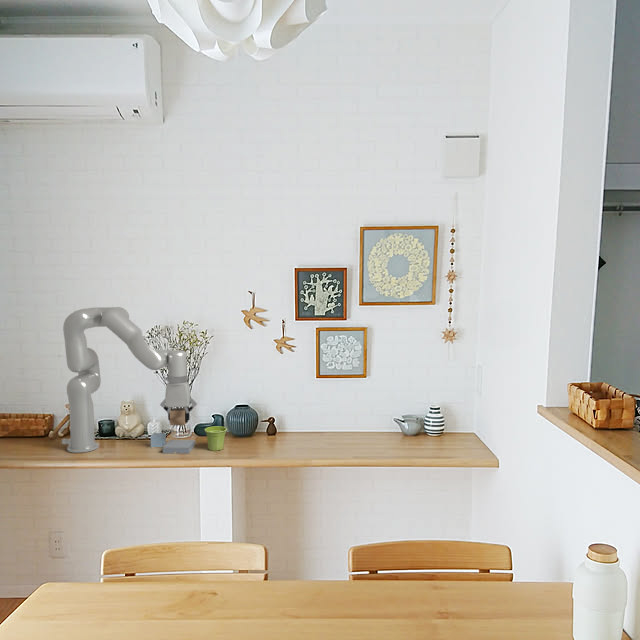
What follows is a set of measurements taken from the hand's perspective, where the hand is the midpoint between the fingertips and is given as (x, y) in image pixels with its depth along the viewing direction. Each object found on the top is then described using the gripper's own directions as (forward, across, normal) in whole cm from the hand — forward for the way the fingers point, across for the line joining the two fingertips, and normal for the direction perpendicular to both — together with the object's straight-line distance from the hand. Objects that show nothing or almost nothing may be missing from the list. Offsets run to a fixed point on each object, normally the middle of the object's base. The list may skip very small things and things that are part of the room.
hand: (179, 421), depth 253 cm
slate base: (+12, 0, 0) cm, 12 cm away
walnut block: (+1, 0, 0) cm, 1 cm away
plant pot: (+12, +15, +1) cm, 20 cm away
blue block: (+12, -11, +5) cm, 17 cm away
